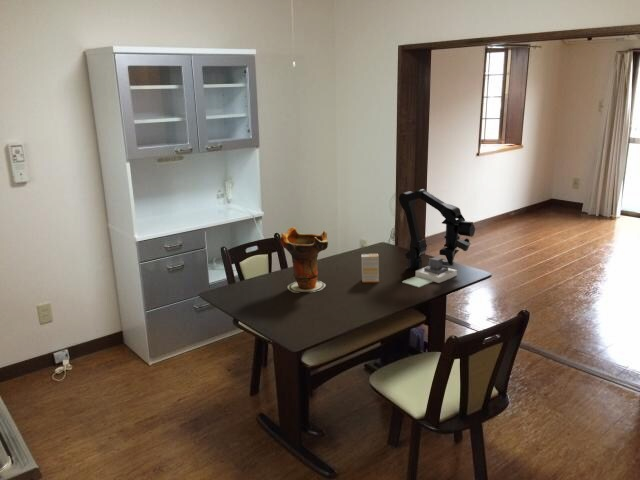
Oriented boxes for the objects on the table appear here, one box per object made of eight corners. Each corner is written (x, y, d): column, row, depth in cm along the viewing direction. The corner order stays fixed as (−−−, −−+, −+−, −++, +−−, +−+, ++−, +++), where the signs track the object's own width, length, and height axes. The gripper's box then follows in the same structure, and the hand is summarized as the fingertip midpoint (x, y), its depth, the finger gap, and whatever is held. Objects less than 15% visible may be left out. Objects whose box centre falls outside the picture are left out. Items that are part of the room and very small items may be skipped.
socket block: (415, 276, 263) (415, 270, 262) (433, 269, 272) (433, 264, 271) (439, 283, 253) (439, 277, 252) (456, 276, 262) (457, 270, 261)
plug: (424, 275, 263) (424, 258, 261) (434, 271, 268) (434, 255, 266) (437, 279, 257) (438, 262, 255) (447, 275, 262) (448, 258, 260)
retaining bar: (427, 266, 268) (427, 259, 267) (429, 265, 269) (429, 258, 268) (453, 269, 261) (453, 262, 260) (454, 268, 262) (454, 261, 261)
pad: (402, 283, 256) (402, 281, 256) (415, 277, 262) (415, 276, 262) (418, 288, 248) (418, 286, 248) (432, 282, 255) (432, 281, 254)
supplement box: (379, 279, 262) (378, 253, 259) (379, 282, 258) (378, 256, 254) (361, 279, 263) (361, 253, 259) (361, 282, 258) (361, 256, 255)
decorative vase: (328, 294, 244) (322, 234, 237) (279, 295, 249) (272, 236, 242) (336, 279, 264) (331, 223, 256) (290, 280, 268) (284, 225, 261)
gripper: (463, 240, 245) (462, 272, 249) (474, 230, 260) (472, 261, 264) (439, 237, 250) (438, 269, 254) (451, 228, 266) (450, 259, 270)
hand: (450, 265), depth 260 cm, fingers closed
